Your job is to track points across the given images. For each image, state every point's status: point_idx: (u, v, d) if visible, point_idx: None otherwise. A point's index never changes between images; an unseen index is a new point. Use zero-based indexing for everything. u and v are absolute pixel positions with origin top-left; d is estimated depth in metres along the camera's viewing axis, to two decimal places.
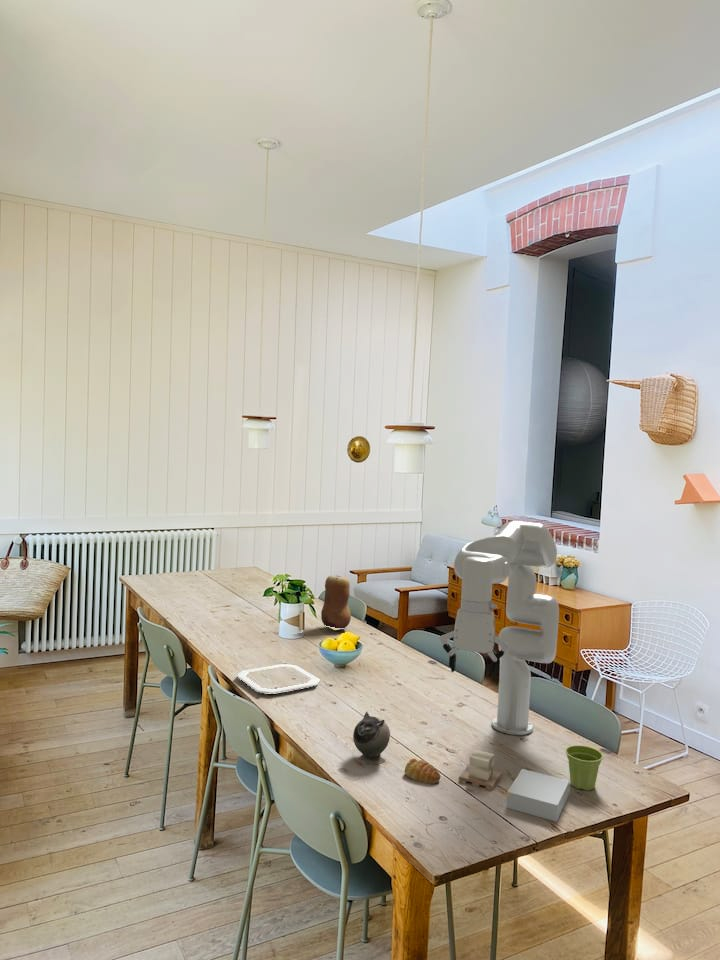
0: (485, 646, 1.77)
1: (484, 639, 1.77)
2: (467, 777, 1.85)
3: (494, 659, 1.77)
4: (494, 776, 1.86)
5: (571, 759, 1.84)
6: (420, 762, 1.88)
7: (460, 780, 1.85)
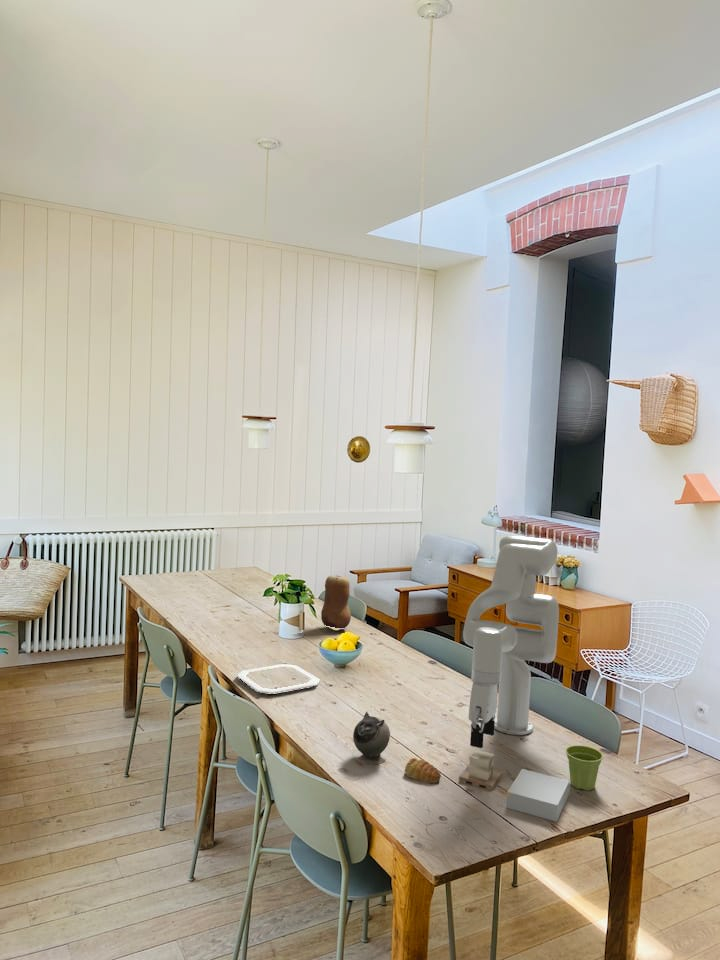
0: (495, 709, 1.87)
1: (496, 703, 1.87)
2: (467, 777, 1.85)
3: (493, 718, 1.90)
4: (494, 776, 1.86)
5: (571, 759, 1.84)
6: (420, 761, 1.88)
7: (460, 780, 1.85)
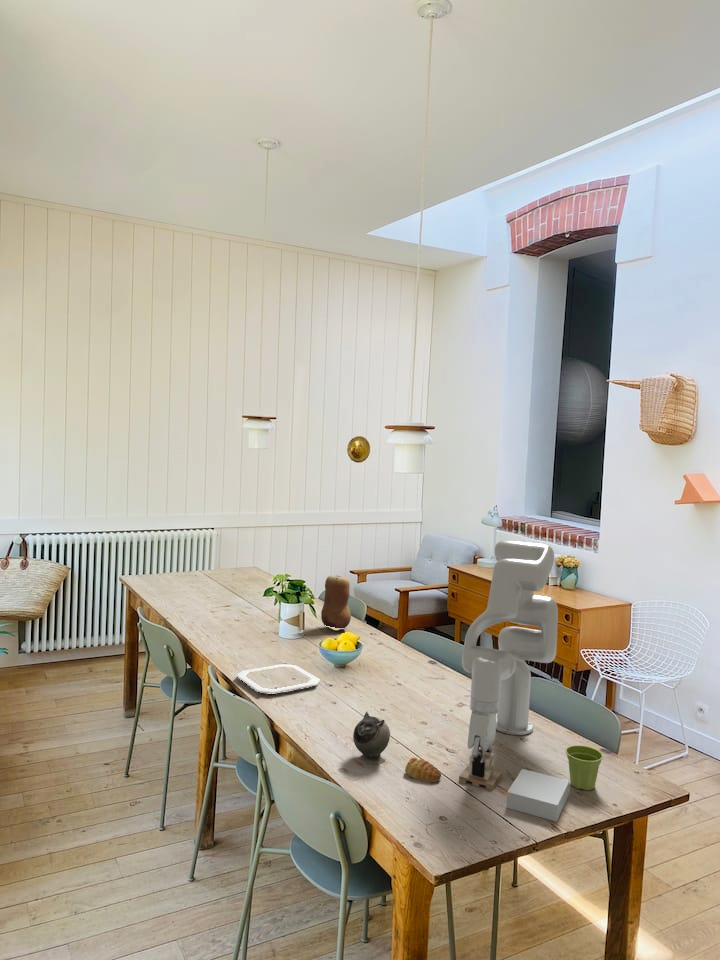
0: (494, 736, 1.88)
1: (494, 730, 1.88)
2: (467, 777, 1.85)
3: None
4: (494, 776, 1.86)
5: (571, 759, 1.84)
6: (420, 761, 1.88)
7: (460, 780, 1.85)
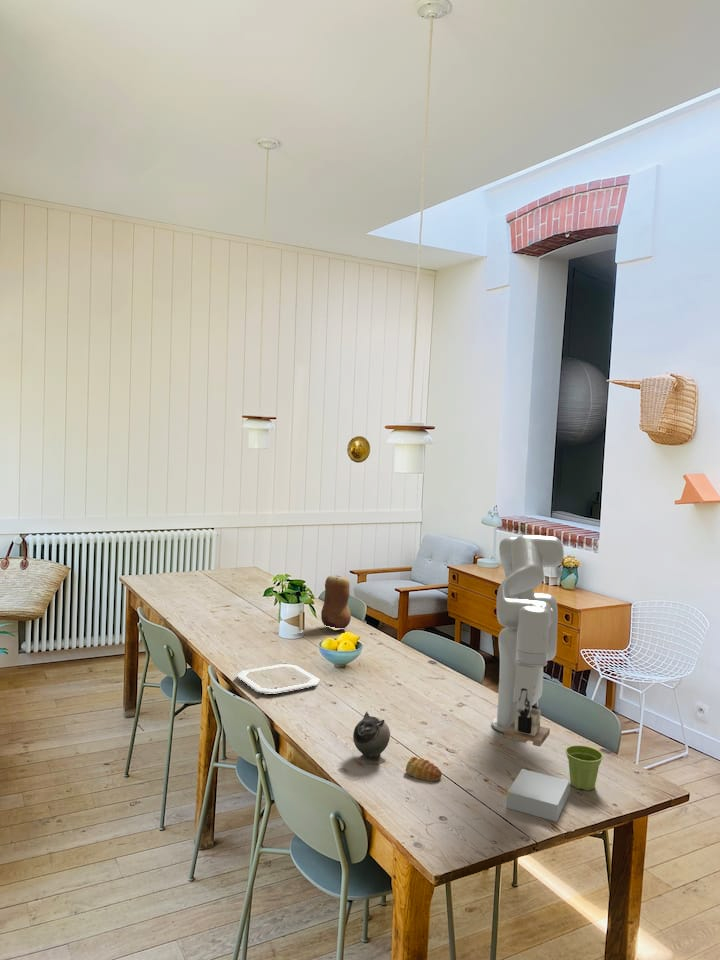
0: (541, 691, 1.79)
1: (541, 685, 1.78)
2: (513, 733, 1.76)
3: (537, 707, 1.80)
4: (541, 732, 1.77)
5: (571, 759, 1.84)
6: (421, 760, 1.89)
7: (505, 736, 1.76)
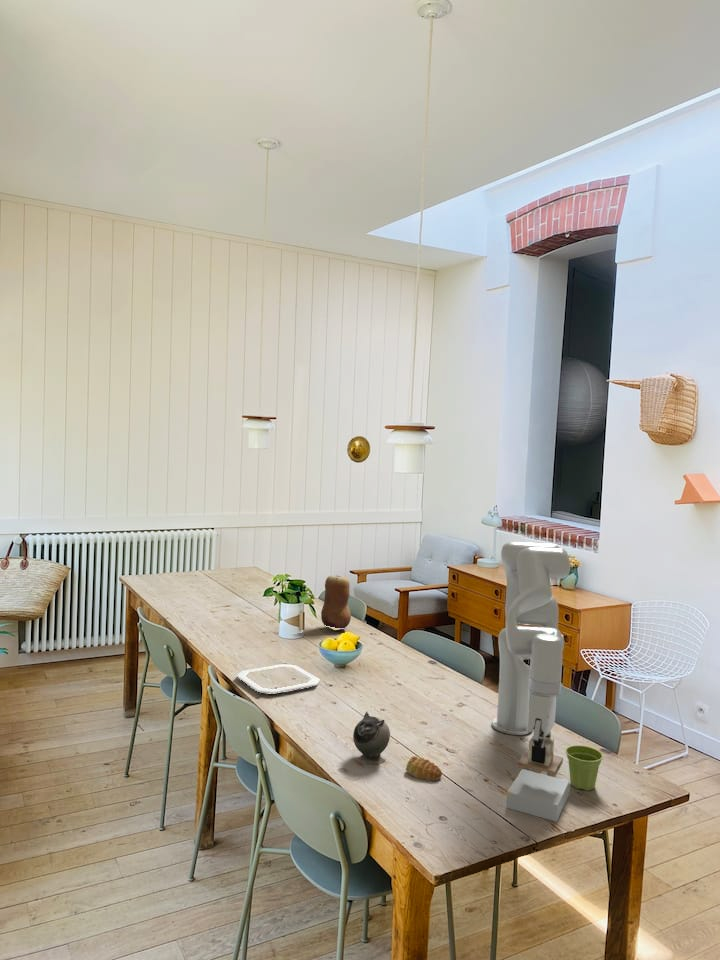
0: (554, 720, 1.77)
1: None
2: (526, 763, 1.73)
3: (549, 736, 1.78)
4: (555, 762, 1.75)
5: (571, 759, 1.84)
6: (421, 760, 1.89)
7: (519, 766, 1.73)
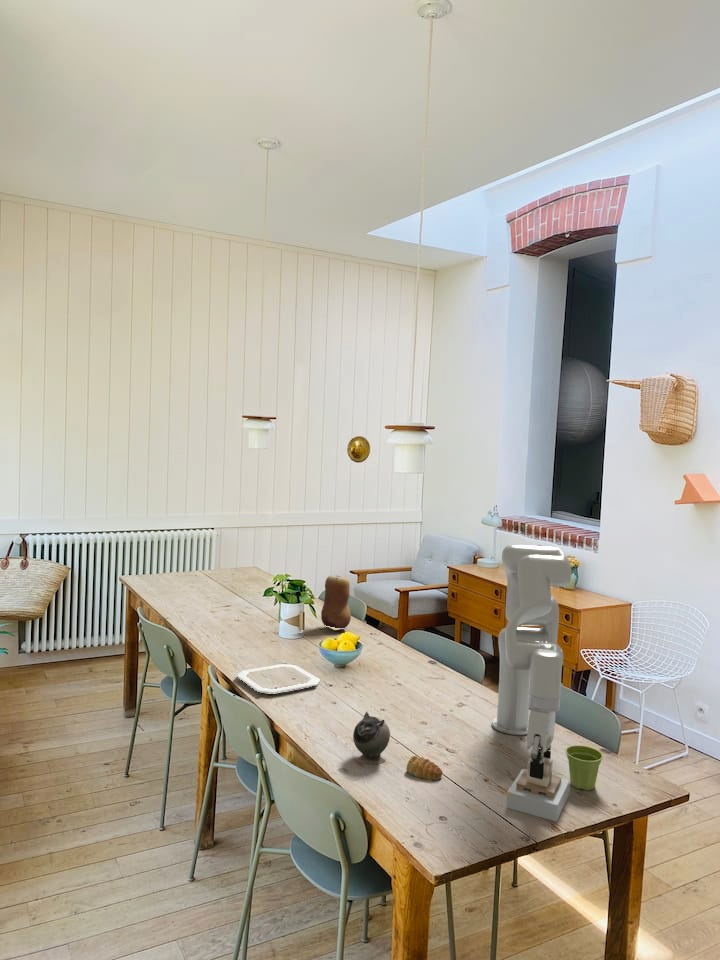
0: (553, 735, 1.77)
1: None
2: (525, 784, 1.74)
3: (549, 748, 1.79)
4: (553, 782, 1.75)
5: (571, 759, 1.84)
6: (421, 759, 1.90)
7: (517, 787, 1.74)
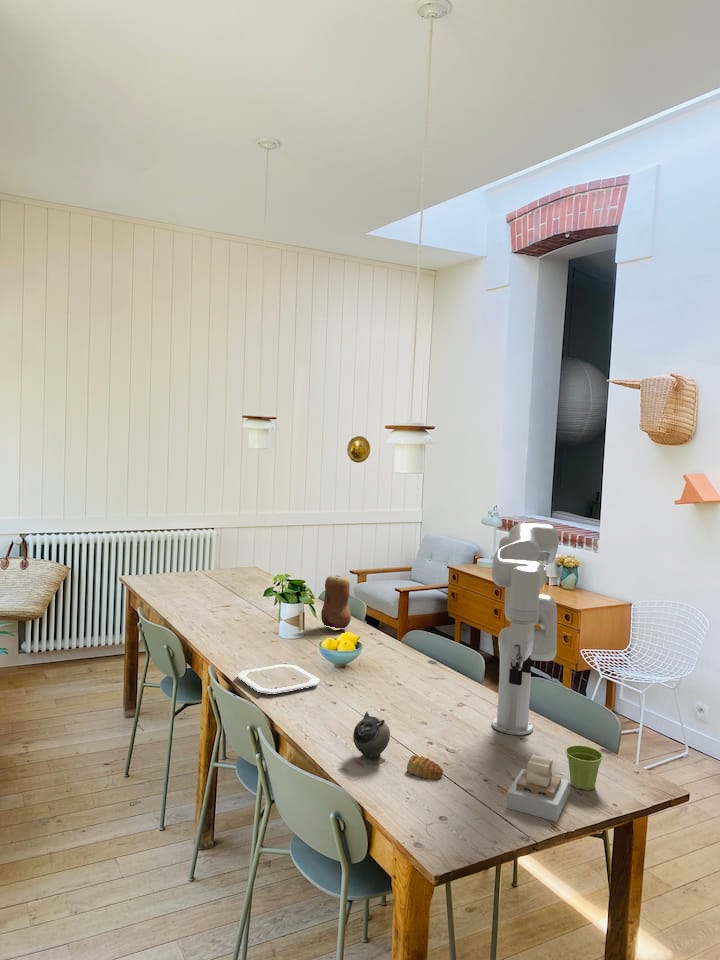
0: (532, 647, 1.87)
1: (533, 641, 1.87)
2: (525, 784, 1.74)
3: (530, 655, 1.90)
4: (553, 782, 1.75)
5: (571, 759, 1.84)
6: (422, 758, 1.90)
7: (517, 787, 1.74)
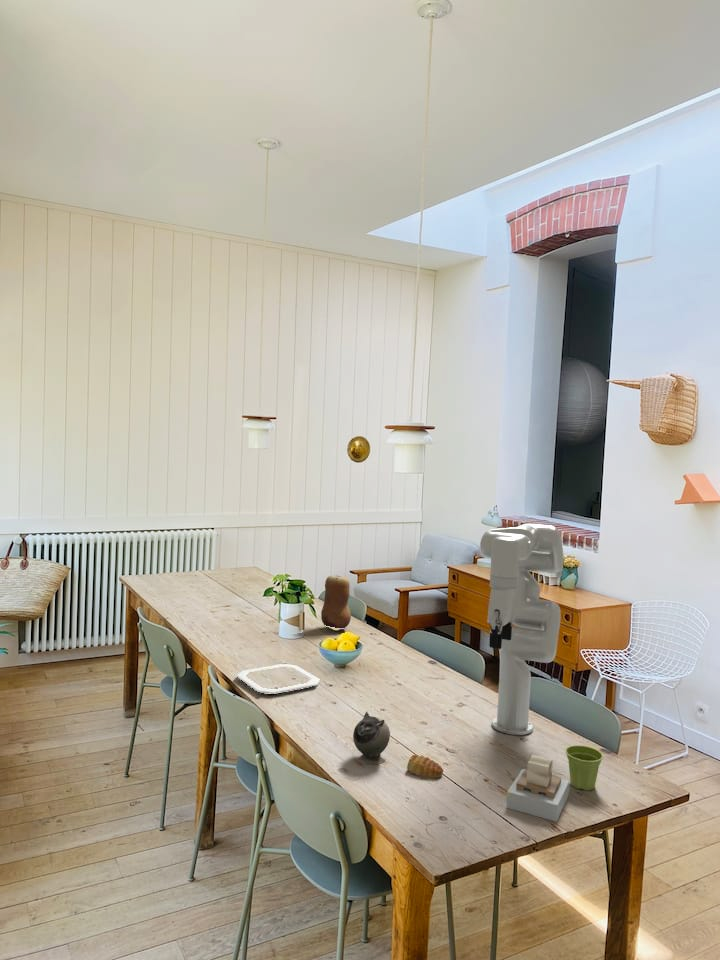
0: (512, 614, 1.97)
1: (513, 608, 1.97)
2: (525, 784, 1.74)
3: (510, 623, 2.00)
4: (553, 782, 1.75)
5: (571, 759, 1.84)
6: (422, 757, 1.91)
7: (517, 787, 1.74)
